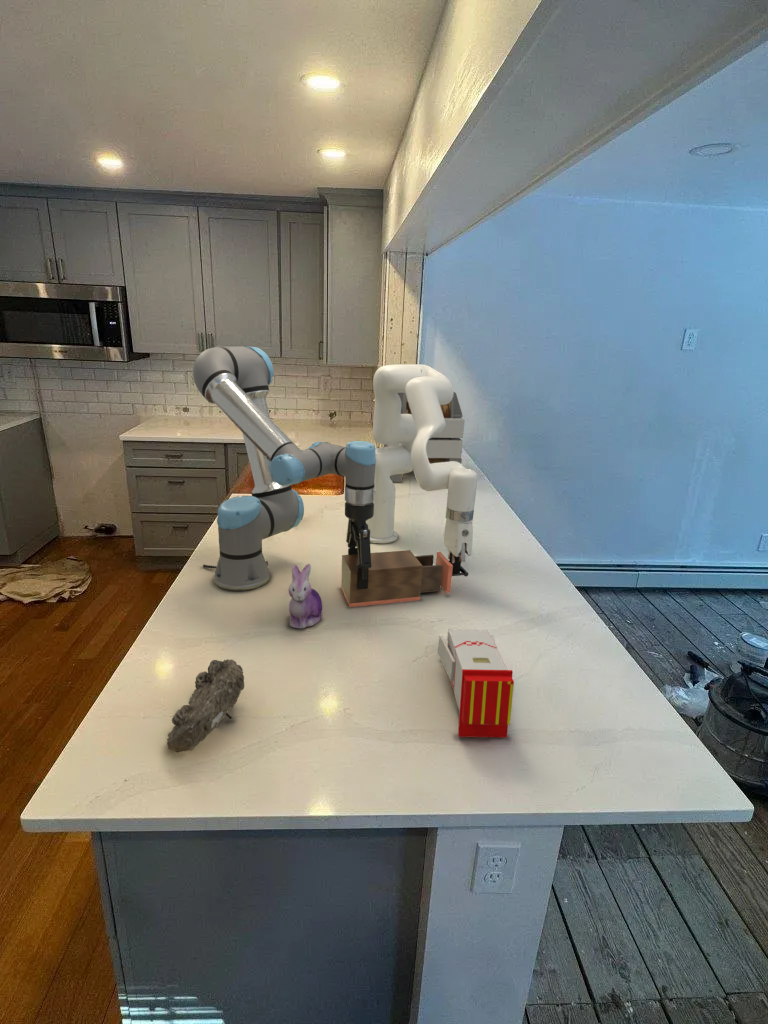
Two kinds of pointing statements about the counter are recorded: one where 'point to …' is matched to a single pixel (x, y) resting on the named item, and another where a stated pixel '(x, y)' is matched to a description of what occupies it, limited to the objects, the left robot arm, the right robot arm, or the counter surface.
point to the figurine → (303, 600)
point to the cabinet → (383, 579)
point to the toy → (478, 682)
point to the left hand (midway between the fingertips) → (357, 578)
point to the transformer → (440, 435)
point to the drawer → (437, 573)
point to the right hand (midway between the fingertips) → (453, 573)
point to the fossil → (206, 705)
